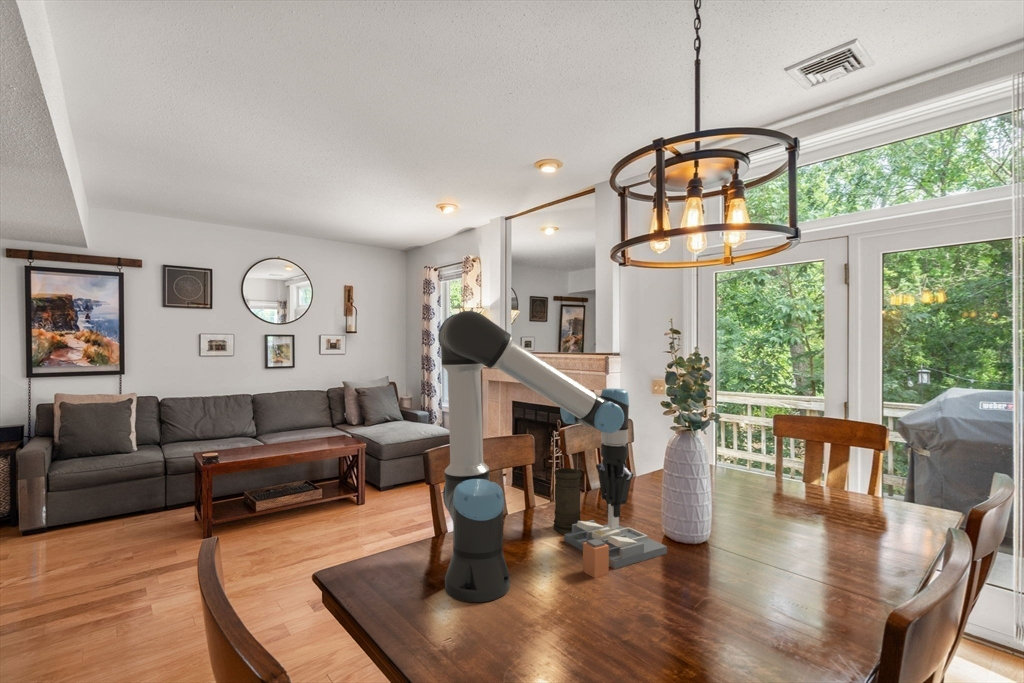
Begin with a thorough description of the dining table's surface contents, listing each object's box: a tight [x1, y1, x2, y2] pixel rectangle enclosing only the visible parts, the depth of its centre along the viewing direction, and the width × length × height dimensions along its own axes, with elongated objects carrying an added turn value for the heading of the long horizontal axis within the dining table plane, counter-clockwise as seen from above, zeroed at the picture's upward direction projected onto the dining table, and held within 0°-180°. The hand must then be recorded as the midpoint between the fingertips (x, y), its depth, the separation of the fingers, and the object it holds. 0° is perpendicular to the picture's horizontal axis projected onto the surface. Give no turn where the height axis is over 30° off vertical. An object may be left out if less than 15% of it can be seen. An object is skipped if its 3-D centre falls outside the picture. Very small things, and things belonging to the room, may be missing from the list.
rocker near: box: [608, 536, 638, 547], centre depth 131 cm, size 7×4×2 cm, turn 121°
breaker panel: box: [563, 519, 668, 570], centre depth 138 cm, size 19×21×4 cm
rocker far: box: [577, 520, 605, 531], centre depth 143 cm, size 7×4×2 cm, turn 121°
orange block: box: [582, 539, 610, 579], centre depth 123 cm, size 4×4×8 cm
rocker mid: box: [592, 527, 621, 541], centre depth 137 cm, size 7×4×2 cm, turn 121°
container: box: [552, 467, 583, 535], centre depth 152 cm, size 9×9×18 cm
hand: (613, 527), depth 138 cm, fingers closed
